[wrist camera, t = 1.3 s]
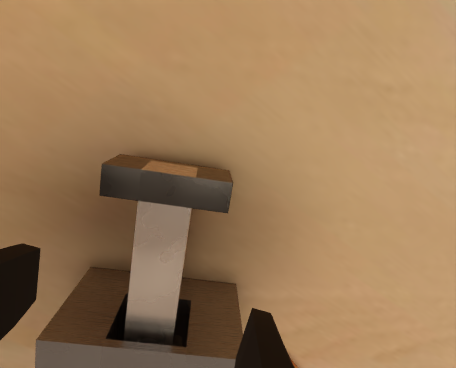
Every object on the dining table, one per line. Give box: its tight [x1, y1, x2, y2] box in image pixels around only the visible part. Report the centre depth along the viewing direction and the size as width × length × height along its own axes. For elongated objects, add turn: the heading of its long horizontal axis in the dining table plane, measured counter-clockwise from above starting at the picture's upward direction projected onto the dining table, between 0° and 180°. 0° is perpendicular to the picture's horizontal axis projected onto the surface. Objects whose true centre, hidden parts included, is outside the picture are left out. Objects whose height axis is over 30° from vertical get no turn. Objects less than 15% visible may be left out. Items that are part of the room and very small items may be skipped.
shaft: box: [100, 154, 233, 346], centre depth 19 cm, size 6×23×3 cm, turn 171°
